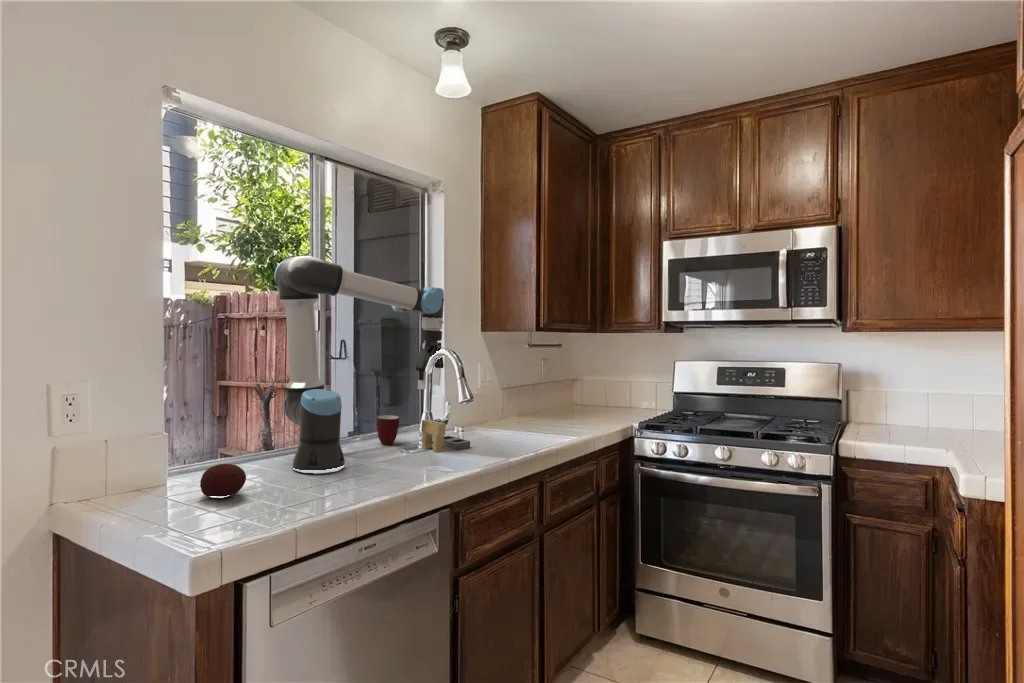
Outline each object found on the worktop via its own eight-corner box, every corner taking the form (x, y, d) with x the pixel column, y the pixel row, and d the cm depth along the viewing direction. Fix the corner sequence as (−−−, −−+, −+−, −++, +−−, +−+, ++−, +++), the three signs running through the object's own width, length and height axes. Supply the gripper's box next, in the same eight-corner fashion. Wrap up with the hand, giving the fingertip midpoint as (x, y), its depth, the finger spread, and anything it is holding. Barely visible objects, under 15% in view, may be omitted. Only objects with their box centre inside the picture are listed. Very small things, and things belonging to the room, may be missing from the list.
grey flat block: (455, 450, 210) (456, 443, 209) (434, 444, 218) (434, 437, 217) (470, 447, 215) (470, 441, 215) (448, 441, 223) (448, 435, 223)
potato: (213, 488, 153) (214, 457, 152) (255, 491, 153) (256, 460, 152) (187, 502, 141) (188, 469, 141) (232, 505, 141) (234, 471, 141)
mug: (371, 440, 217) (372, 414, 217) (392, 439, 221) (394, 413, 221) (378, 447, 208) (380, 419, 208) (400, 445, 212) (402, 418, 211)
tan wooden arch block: (436, 452, 205) (438, 424, 204) (420, 447, 211) (421, 420, 210) (444, 451, 207) (445, 423, 207) (428, 446, 214) (429, 419, 213)
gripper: (427, 330, 200) (424, 391, 201) (453, 329, 224) (451, 384, 225) (407, 329, 202) (404, 389, 203) (435, 328, 226) (433, 382, 227)
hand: (429, 387), depth 214 cm, fingers open, 13 cm apart
